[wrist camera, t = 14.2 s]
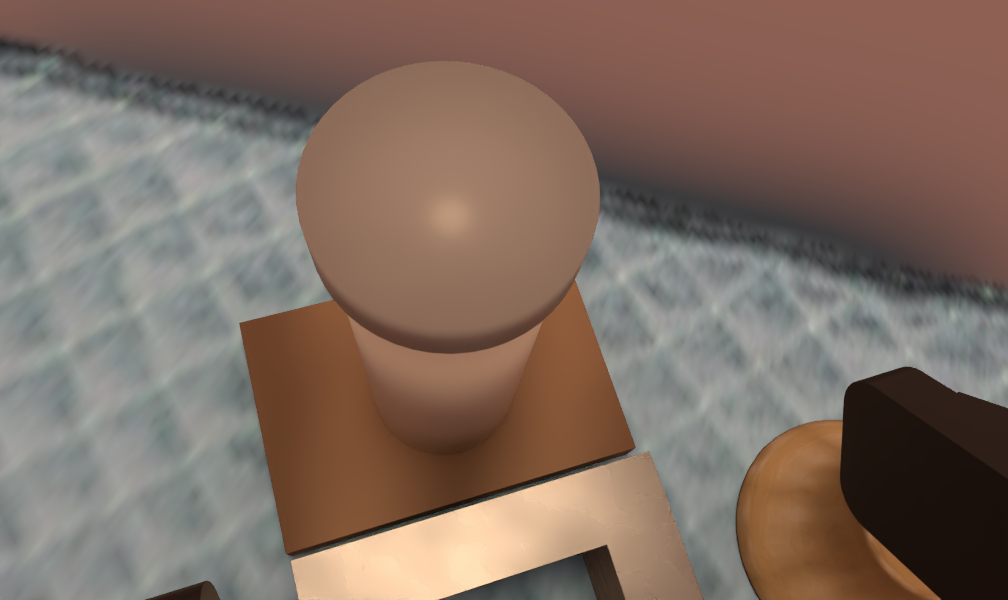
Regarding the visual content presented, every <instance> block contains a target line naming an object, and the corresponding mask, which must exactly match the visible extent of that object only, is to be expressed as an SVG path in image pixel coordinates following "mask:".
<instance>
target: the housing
mask: <svg viewBox="0 0 1008 600" xmlns="http://www.w3.org/2000/svg"><path fill="white" fill-rule="evenodd" d="M579 553H582V554H583V557H584V561H585V564H586V567H587V570H588V573H589V576H590V579H591V582H592V585H593V588H594V591H595V594H596V597H597V600H704V599H703V596H702V593H701V591H700V588H699V585H698V583H697V580H696V577H695V574H694V572H693V569H692V566H691V564H690V561H689V558H688V555H687V553H686V550H685V547H684V544H683V542H682V539H681V536H680V534H679V531H678V528H677V525H676V523H675V520H674V517H673V515H672V512H671V509H670V506H669V504H668V501H667V498H666V495H665V493H664V490H663V487H662V485H661V482H660V479H659V476H658V474H657V471H656V468H655V466H654V463H653V460H652V457H651V455H650V452H649V451H648V452H645V453H642V454H638V455H635V456H632V457H629V458H625V459H622V460H619V461H615V462H612V463H609V464H606V465H602V466H599V467H596V468H593V469H589V470H586V471H583V472H580V473H576V474H573V475H570V476H566V477H563V478H560V479H557V480H553V481H550V482H547V483H544V484H540V485H537V486H534V487H530V488H527V489H524V490H521V491H517V492H514V493H511V494H508V495H504V496H501V497H498V498H495V499H491V500H488V501H485V502H481V503H478V504H475V505H472V506H468V507H465V508H462V509H459V510H455V511H452V512H449V513H446V514H442V515H439V516H436V517H432V518H429V519H426V520H423V521H419V522H416V523H413V524H410V525H406V526H403V527H400V528H397V529H393V530H390V531H387V532H383V533H380V534H377V535H374V536H370V537H367V538H364V539H361V540H357V541H354V542H351V543H347V544H344V545H341V546H338V547H334V548H331V549H328V550H325V551H321V552H318V553H315V554H312V555H308V556H305V557H302V558H298V559H295V560H292V561H291V564H292V569H293V574H294V579H295V584H296V588H297V593H298V598H299V600H439V599H442V598H445V597H448V596H451V595H454V594H457V593H460V592H463V591H466V590H469V589H472V588H475V587H478V586H481V585H484V584H487V583H491V582H494V581H497V580H500V579H503V578H506V577H509V576H512V575H515V574H518V573H521V572H524V571H527V570H530V569H533V568H536V567H539V566H542V565H546V564H549V563H552V562H555V561H558V560H561V559H564V558H567V557H570V556H573V555H576V554H579Z"/></svg>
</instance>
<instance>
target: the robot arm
mask: <svg viewBox="0 0 1008 600" xmlns="http://www.w3.org/2000/svg"><path fill="white" fill-rule="evenodd" d="M840 484H841V489H842V493H843V496H844V499H845V501H846V503H847V505H848V507H849V509H850V511H851V512H852V514H853V515H854V517H855V518H856V520H857V521H858V522H859V523H860V524H861V525H862V526H863V527H864V528H865V529H866V530H867V531H868V532H869V533H870V534H871V535H872V536H873V537H874V538H876V539H877V540H878V541H879V542H880V543H881V544H882V545H883V546H884V547H885V548H886V549H887V550H888V551H889V552H891V553H892V554H893V555H894V556H895V557H896V558H897V559H898V560H899V561H900V562H901V563H902V564H903V565H904V566H906V567H907V568H908V569H909V570H910V571H911V572H912V573H913V574H914V575H915V576H916V577H917V578H918V579H919V580H921V581H922V582H923V583H924V584H925V585H926V586H927V587H928V588H929V589H930V590H931V591H932V592H933V593H934V594H936V595H937V596H938V597H939V598H940V599H941V600H1008V408H1005V407H1002V406H999V405H996V404H993V403H991V402H988V401H985V400H982V399H979V398H976V397H973V396H970V395H967V394H964V393H961V392H958V393H956V392H954V391H953V390H951V389H949V388H948V387H946V386H945V385H943V384H941V383H940V382H938V381H936V380H935V379H933V378H932V377H930V376H928V375H927V374H925V373H923V372H922V371H920V370H918V369H916V368H912V367H902V368H898V369H895V370H892V371H889V372H885V373H882V374H879V375H876V376H873V377H869V378H866V379H863V380H860V381H856V382H854V383H852V384H851V385H850V386H849V387H848V388H847V390H846V392H845V396H844V408H843V426H842V445H841V463H840ZM146 600H220V598H219V596H218V594H217V591H216V589H215V588H214V586H213V585H212V583H211V582H209V581H204V582H201V583H198V584H195V585H191V586H188V587H185V588H182V589H178V590H175V591H172V592H169V593H166V594H162V595H159V596H156V597H153V598H149V599H146Z"/></svg>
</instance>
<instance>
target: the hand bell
mask: <svg viewBox="0 0 1008 600" xmlns="http://www.w3.org/2000/svg"><path fill="white" fill-rule="evenodd" d="M842 426H843V421H842V420H822V421H814V422H810V423H806V424H803V425H800V426H797V427H795V428H792V429H790V430H788V431H786V432H784V433H782V434H781V435H779V436H778V437H776V438H775V439H774V440H773V441H772V442H770V443H769V444H768V445H767V446H765V447H764V449H763V450H762V451H761V452H760V453H759V454H758V456H757V458H756V459H755V461H754V462H753V464H752V465H751V467H750V468H749V471H748V473H747V475H746V477H745V479H744V482H743V485H742V488H741V491H740V495H739V500H738V505H737V536H738V543H739V548H740V553H741V557H742V561H743V564H744V567H745V569H746V572H747V575H748V577H749V579H750V581H751V584H752V585H753V587H754V589H755V591H756V593H757V595H758V596H759V598H760V600H941V599H940V598H939V597H938V596H937V595H936V594H934V593H933V592H932V591H931V590H930V589H929V588H928V587H927V586H926V585H925V584H924V583H923V582H922V581H921V580H919V579H918V578H917V577H916V576H915V575H914V574H913V573H912V572H911V571H910V570H909V569H908V568H907V567H906V566H904V565H903V564H902V563H901V562H900V561H899V560H898V559H897V558H896V557H895V556H894V555H893V554H892V553H891V552H889V551H888V550H887V549H886V548H885V547H884V546H883V545H882V544H881V543H880V542H879V541H878V540H877V539H876V538H874V537H873V536H872V535H871V534H870V533H869V532H868V531H867V530H866V529H865V528H864V527H863V526H862V525H861V524H860V523H859V522H858V521H857V520H856V518H855V517H854V515H853V514H852V512H851V511H850V509H849V507H848V505H847V503H846V501H845V499H844V496H843V493H842V489H841V484H840V463H841V445H842Z"/></svg>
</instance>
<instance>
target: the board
mask: <svg viewBox="0 0 1008 600" xmlns="http://www.w3.org/2000/svg"><path fill="white" fill-rule="evenodd" d="M239 324H240V329H241V334H242V339H243V344H244V349H245V353H246V358H247V363H248V368H249V373H250V378H251V383H252V388H253V393H254V398H255V403H256V408H257V413H258V418H259V422H260V427H261V432H262V437H263V442H264V447H265V452H266V457H267V462H268V467H269V472H270V477H271V482H272V487H273V491H274V496H275V501H276V506H277V511H278V516H279V521H280V526H281V531H282V536H283V541H284V546H285V551H286V554H288V555H291V556H294V555H297V554H300V553H303V552H307V551H310V550H313V549H316V548H320V547H323V546H326V545H330V544H333V543H336V542H339V541H343V540H346V539H349V538H353V537H356V536H359V535H362V534H366V533H369V532H372V531H376V530H379V529H382V528H385V527H389V526H392V525H395V524H398V523H402V522H405V521H408V520H412V519H415V518H418V517H421V516H425V515H428V514H431V513H435V512H438V511H441V510H444V509H448V508H451V507H454V506H458V505H461V504H464V503H467V502H471V501H474V500H477V499H480V498H484V497H487V496H490V495H494V494H497V493H500V492H503V491H507V490H510V489H513V488H517V487H520V486H523V485H526V484H530V483H533V482H536V481H540V480H543V479H546V478H549V477H553V476H556V475H559V474H562V473H566V472H569V471H572V470H576V469H579V468H582V467H585V466H589V465H592V464H595V463H599V462H602V461H605V460H608V459H612V458H615V457H618V456H621V455H625V454H628V453H629V452H630V451H632V450H633V449H635V448H636V447H635V444H634V441H633V439H632V436H631V433H630V430H629V428H628V425H627V422H626V419H625V417H624V414H623V411H622V408H621V406H620V403H619V400H618V397H617V395H616V392H615V389H614V386H613V383H612V381H611V378H610V375H609V372H608V370H607V367H606V364H605V361H604V359H603V356H602V353H601V350H600V348H599V345H598V342H597V339H596V337H595V334H594V331H593V328H592V325H591V323H590V320H589V317H588V314H587V312H586V309H585V306H584V303H583V301H582V298H581V295H580V292H579V290H578V287H577V284H576V281H575V280H574V282H573V285H572V286H571V288H570V289H569V291H568V293H567V294H566V296H565V297H564V299H563V300H562V301H561V302H560V304H559V305H558V306H557V307H556V308H555V310H554V311H553V312H552V313H551V314H550V315H549V316H547V317H546V318H545V319H544V320H543V322H542V324H541V327H540V329H539V332H538V335H537V337H536V340H535V342H534V345H533V348H532V350H531V353H530V355H529V358H528V361H527V363H526V366H525V368H524V371H523V373H522V376H521V379H520V381H519V384H518V386H517V389H516V392H515V394H514V397H513V399H512V402H511V405H510V407H509V410H508V412H507V414H506V416H505V418H504V420H503V422H502V423H501V425H500V426H499V427H498V429H497V430H496V431H495V432H494V433H493V434H492V435H491V436H490V437H489V438H488V439H487V440H485V441H484V442H482V443H481V444H479V445H477V446H476V447H474V448H472V449H469V450H466V451H464V452H460V453H455V454H446V455H441V454H431V453H425V452H422V451H419V450H416V449H414V448H412V447H410V446H408V445H406V444H405V443H403V442H402V441H400V440H399V439H398V438H397V437H396V436H394V435H393V434H392V432H391V431H390V430H389V429H388V428H387V426H386V425H385V423H384V422H383V420H382V418H381V416H380V414H379V412H378V409H377V406H376V403H375V400H374V397H373V394H372V391H371V387H370V384H369V381H368V378H367V375H366V372H365V368H364V365H363V362H362V359H361V356H360V353H359V349H358V346H357V343H356V340H355V337H354V334H353V331H352V327H351V324H350V321H349V318H348V315H347V314H346V313H345V312H344V311H343V309H342V308H341V307H340V306H339V305H338V304H337V303H336V302H335V301H334V300H331V301H327V302H323V303H319V304H315V305H311V306H307V307H303V308H299V309H295V310H291V311H287V312H282V313H278V314H274V315H270V316H266V317H262V318H258V319H254V320H250V321H246V322H242V323H239Z"/></svg>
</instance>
